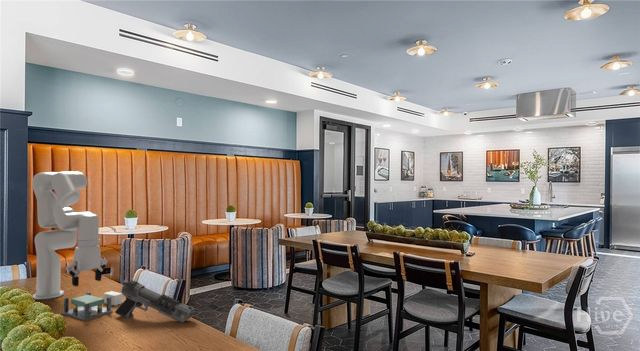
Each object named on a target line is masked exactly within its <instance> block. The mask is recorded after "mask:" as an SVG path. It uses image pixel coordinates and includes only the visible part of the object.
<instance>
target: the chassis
mask: <svg viewBox="0 0 640 351" xmlns="http://www.w3.org/2000/svg"><path fill="white" fill-rule="evenodd" d="M91 294H92V292H91V291H88V292H86V294H85V295H91ZM91 296H92V295H91ZM69 299H70V298H69V297H64V298H63V311H62V312H61V315H64V316H68V317H72V318H75V319H78V320H81V321H88V320H92V319H94V318H98V317H101V316H104V314H105V315H108V314H111V313H113V311H114V310H113V309H112V305H111V297H107V304H106V307H104V306H103V304H101V305H97V306H94V307H90V308H89V303H85V304H84V307H82V306H78V305H75V304H72V308H71V309H69Z"/></svg>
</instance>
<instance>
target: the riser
mask: <svg viewBox="0 0 640 351" xmlns="http://www.w3.org/2000/svg"><path fill="white" fill-rule="evenodd" d="M102 294H103V296H102V298H103V299H104V304H105V303H106V304H105V305H107V297H111V306H113V305H114V307H115V306H118V304H119V305H121V303H123V294H122V293H121V292H117V291H114V290H113V291H112V290H111V291H107V292H104V293H102Z"/></svg>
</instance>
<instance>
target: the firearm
mask: <svg viewBox="0 0 640 351" xmlns="http://www.w3.org/2000/svg"><path fill="white" fill-rule="evenodd" d="M122 282H123V286H122V287H121V292H120V293H122V296H123V297H125V300H124V301H122V304H119V307H118V308H117V309H116V310H115V311H114V314H116V315H118V316H120V317H123V318H124V319H130V318H132V317H134V314H133V312H134V310H136V308H138V309H140V310H142V311H144V312H147V311H148V310H149V307H150V308H152V309H154V310H155V311H158V313H160V314H161V315H164V316H166V317H168V318H171V319H172V320H175V321H176V322H179V323H181V324H183V323H184V322H186V321H188V320H189V319H190V318H192V317H193V316H194V313H195V311H196V310H195V307H193V306H190V305H188V304H185V303H180V300H177V299H176V298H174V297H170V296H168V294H167V295H166V294H165V293H164V294H160V293H158V292H156V291H154V290H151V289H149V288H147V287H146V286H145V285H143V284H141V283H140V282H138V280H136V281H135V280H133V279H132V280H129V281H127V280H123V281H122Z"/></svg>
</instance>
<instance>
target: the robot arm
mask: <svg viewBox="0 0 640 351" xmlns="http://www.w3.org/2000/svg"><path fill="white" fill-rule="evenodd" d="M87 185H88V178H87V176H86V175H85V174H84V173H83V172H81V171H58V172H57V171H56V172H55V171H47V172H39V173H36V174H35V175H34V176H33V178H32V190H33V192H34V195H35V198H36V200H37V201H36V202H37V203H36V204H37V205H36V206H37V207H36V208H37V222H38V223H37V224H38V225H39V227H40V228H42V229H43V228H45V229H47V228H48V229H49V228H50V229H52V228H59V229H52V230H44V231H40V232H38V233H37V234H36V235H35V237H34V246H35V252H36V287H35V290H36V292H35V293H34V294H32V297H33V298H34V299H33V298H32V299H33V300H49V299H50V300H51V299H56V298H59V297H61V296H62V297H63V295H64V294H65V291H64V290H62V289H61V265H62V264H61V263H62V262H61V256H60V255H59V254H58V253H57V252H56V251H57V250H62V249H70V248H74V247H75V249H74V252H73V257H72V262H71V263H70V264H69V265H68V266H66V267H65V270H66V271H67V274H68V275H70V277H71V284H72V286H73V287H79V286H80V284H79V282H80V281H79V280H80V278H79V277H80V276H79V274H80V273H81V272H86V271H92V270H95V272H94V280H95V281H98V282H100V281H102V272H103V271H104V269H105V267H106V266H107V263H108V259H105V258H102V254H101V253H102V252H101V247H100V244H99V243H100V242H102V239H101V238H99V228H100V227H99V225H100V224H99V223H100V217H99V215H98V214H96V213H93V212H91V211H79V212H78V211H77V212H76V211H75V210H74V209H73V208H72V207H70V206H73V205H74V204H76V203H77V202H79V201H80V200H81V194H80V193H81V192H79V190H85V188H86V187H87ZM53 190H54V191H53ZM76 244H77V246H76Z"/></svg>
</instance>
